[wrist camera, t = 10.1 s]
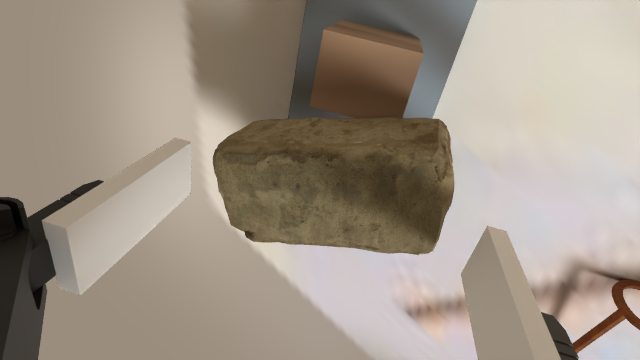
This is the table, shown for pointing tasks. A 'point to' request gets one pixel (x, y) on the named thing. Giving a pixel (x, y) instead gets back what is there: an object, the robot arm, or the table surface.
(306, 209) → the stone block
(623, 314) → the glasses
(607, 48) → the table surface
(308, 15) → the bridge base
